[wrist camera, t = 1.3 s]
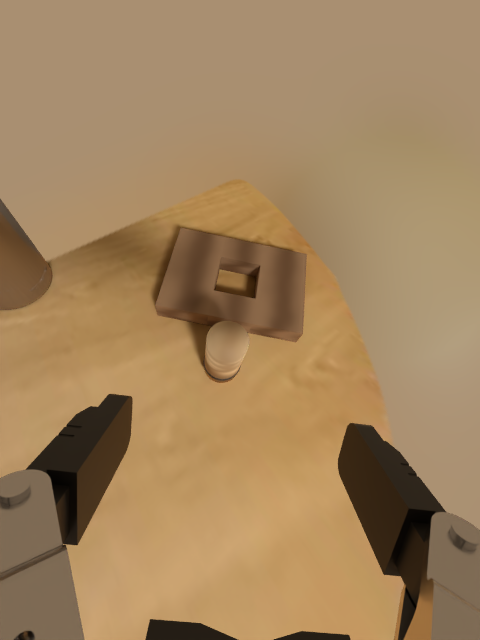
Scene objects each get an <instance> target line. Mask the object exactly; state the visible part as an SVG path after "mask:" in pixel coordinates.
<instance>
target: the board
mask: <svg viewBox="0 0 480 640" xmlns="http://www.w3.org/2000/svg"><path fill="white" fill-rule="evenodd" d="M306 257H307V254H304V253H299V252H294V251H290V250H285V249H280V248H275V247H271V246H266V245H261V244H256V243H252V242H247V241H242V240H237V239H233V238H228V237H223V236H219V235H214V234H209V233H204V232H200V231H195V230H190V229H185V228H181V229H180V232H179V235H178V238H177V241H176V244H175V247H174V250H173V253H172V256H171V259H170V262H169V265H168V268H167V271H166V274H165V277H164V280H163V283H162V286H161V289H160V292H159V295H158V298H157V301H156V304H155V306H156V310H157V314H158V316H164V317H169V318H174V319H179V320H184V321H189V322H195V323H200V324H205V325H210V326H213V325H215V324H216V323H218V322H221V321H233V322H236V323H238V324H240V325H241V326H242V327H243V328H244V329H245V330H246V331H247V333H251V334H257V335H262V336H267V337H272V338H277V339H283V340H288V341H293V342H296V341H297V340H298V339H299V338H300V337H301V335H302V334H303V320H304V299H305V278H306ZM219 269H222V270H227V271H231V272H236V273H241V274H246V275H251V276H256V277H257V278H256V285H255V292H254V298H250V297H245V296H240V295H235V294H230V293H225V292H220V291H215V287H216V283H217V278H218V274H219Z"/></svg>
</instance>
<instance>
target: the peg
mask: <svg viewBox="0 0 480 640" xmlns="http://www.w3.org/2000/svg"><path fill="white" fill-rule="evenodd" d="M248 347H249V336H248V333H247V331H246V330H245V329H244V328H243V327H242V326H241V325H240V324H238V323H236V322H233V321H221V322H218V323H216V324H215V325H213V326H212V327H211V328H210V330H209V331H208V334H207V338H206V349H205V356H204V370H205V373H206V374H207V376H208V377H209V378H210V379H211V380H213V381H215V382H219V383H224V382H228V381H230V380H232V379H233V378H234V377H235V375H236V374H237V373H238V371H239V369H240V366H241V363H242V361H243V359H244V356H245V354H246V352H247V350H248Z"/></svg>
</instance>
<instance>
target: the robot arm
mask: <svg viewBox="0 0 480 640" xmlns="http://www.w3.org/2000/svg"><path fill="white" fill-rule="evenodd" d="M51 279H52V272H51V269H50V267H49V265H48V264H47V262H46V261H45V260H44V258H43V257H42V255H41V254H40V253H39V251H38V250H37V249H36V247H35V246H34V244H33V243H32V241H31V240H30V239H29V237H28V236H27V235H26V233H25V232H24V231H23V229H22V228H21V227H20V225H19V224H18V222H17V221H16V220H15V218H14V217H13V216H12V214H11V213H10V212H9V210H8V209H7V208H6V206H5V205H4V203H3V202H2V201H1V199H0V310H10V309H17V308H20V307H24V306H26V305H28V304H31V303H33V302H34V301H36V300H37V299H39V298H40V297H41V296H42V295H43V294H44V293H45V292H46V290H47V289H48V288H49V286H50V283H51ZM131 421H132V397H131V396H124V395H116V394H109V395H108V396H107V397H106V398H105V399H104V401H103V402H102V403H101V404H100V405H99V407H92V406H90V407H89V408H87V409H85V410H83V411H81V412H80V413H78V414H76V415H75V416H74V418H73V419H72V420H71V421H70V422H69V423H68V424H67V426H66V427H64V428H63V429H62V431H61V432H60V433H59V435H58V436H56V437H55V438H54V439H53V440H52V441H51V443H50V444H49V445H48V446H47V447H46V448H45V449H44V450H43V451H42V452H41V453H40V455H39V456H38V457H37V458H36V459H35V460H34V461H33V462H32V463H31V464H30V465H29V466H28V468H27V469H26V470H22V471H17V472H14V473H11V474H8V475H6V476H4V477H1V478H0V640H84V635H83V629H82V624H81V619H80V614H79V609H78V603H77V598H76V593H75V588H74V582H73V577H72V572H71V567H70V561H69V556H68V552H67V548H66V545H63V544H69V545H78V543H79V541H80V539H81V537H82V536H83V534H84V532H85V530H86V528H87V526H88V524H89V522H90V520H91V518H92V516H93V514H94V512H95V511H96V509H97V507H98V505H99V503H100V501H101V499H102V497H103V495H104V493H105V491H106V489H107V487H108V486H109V484H110V482H111V480H112V478H113V476H114V474H115V472H116V470H117V468H118V466H119V464H120V462H121V461H122V459H123V457H124V455H125V453H126V451H127V448H128V445H129V441H130V436H131ZM338 470H339V475H340V477H341V480H342V482H343V484H344V486H345V489H346V491H347V493H348V495H349V498H350V500H351V502H352V504H353V507H354V509H355V511H356V513H357V516H358V518H359V520H360V522H361V524H362V527H363V529H364V531H365V533H366V536H367V538H368V540H369V542H370V545H371V547H372V549H373V551H374V554H375V556H376V558H377V560H378V563H379V565H380V567H381V569H382V572H383V574H384V575H393V576H401V578H402V580H403V582H404V587H403V589H402V592H401V597H400V604H399V610H398V617H397V623H396V630H395V636H394V640H480V530H479V529H478V528H476V527H475V526H474V525H472V524H471V523H469V522H468V521H466V520H464V519H462V518H460V517H458V516H456V515H453V514H450V513H447V512H446V511H445V510H444V509H443V507H442V506H441V505H440V503H439V502H438V501H437V500H436V498H435V497H434V496H433V494H432V493H431V492H430V491H429V489H428V488H427V487H426V485H425V484H424V483H423V482H422V480H421V479H420V478H419V477H417V475H416V473H415V471H414V470H413V469H412V467H410V466H409V464H408V462H407V461H406V460H405V459H404V457H403V456H402V455H401V453H400V452H399V451H397V450H396V449H395V448H394V447H393V446H391V445H390V444H389V443H388V442H386V441H383V439H382V438H381V437H380V435H379V434H378V433H377V431H376V430H375V429H374V427H373V426H371V425H363V424H355V423H350V424H349V425H348V426H347V429H346V433H345V436H344V440H343V443H342V447H341V451H340V454H339V458H338ZM146 640H237V639H235V638H233V637H231V636H228V635H226V634H224V633H221V632H219V631H217V630H215V629H212V628H210V627H208V626H206V625H203V624H201V623H191V622H178V621H165V620H153V619H150V622H149V627H148V631H147V636H146ZM274 640H350V636H349V635H343V634H330V633H317V632H305V631H301V632H297V633H294V634H291V635H287V636H284V637H281V638H277V639H274Z"/></svg>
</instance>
